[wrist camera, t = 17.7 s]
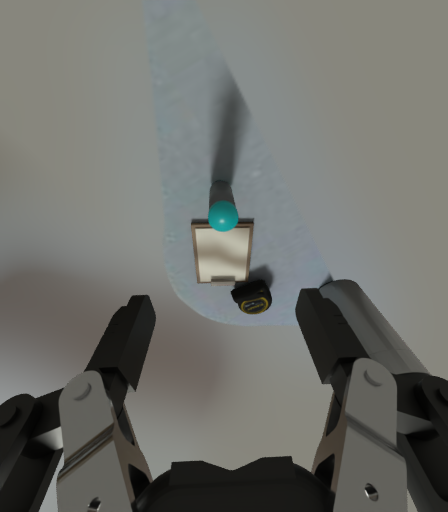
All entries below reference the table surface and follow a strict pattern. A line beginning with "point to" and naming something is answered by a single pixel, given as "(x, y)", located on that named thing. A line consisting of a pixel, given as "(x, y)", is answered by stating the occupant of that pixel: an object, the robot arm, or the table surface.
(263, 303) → the tape measure
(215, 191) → the marker
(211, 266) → the clipboard
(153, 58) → the table surface
